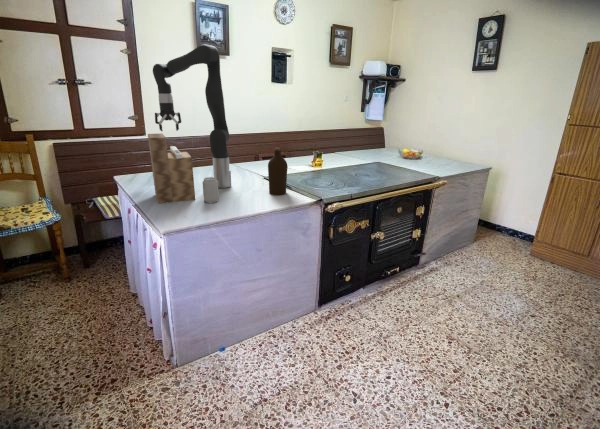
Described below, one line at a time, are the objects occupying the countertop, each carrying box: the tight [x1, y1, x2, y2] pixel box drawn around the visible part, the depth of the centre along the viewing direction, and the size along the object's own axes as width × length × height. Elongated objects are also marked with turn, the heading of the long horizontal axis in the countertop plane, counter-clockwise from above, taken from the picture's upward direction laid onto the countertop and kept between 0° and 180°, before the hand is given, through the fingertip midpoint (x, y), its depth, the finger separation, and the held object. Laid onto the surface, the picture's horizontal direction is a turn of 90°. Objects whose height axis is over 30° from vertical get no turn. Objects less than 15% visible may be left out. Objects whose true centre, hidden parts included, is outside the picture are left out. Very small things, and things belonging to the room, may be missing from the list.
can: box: [202, 176, 220, 204], centre depth 173 cm, size 8×8×12 cm
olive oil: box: [267, 147, 288, 196], centre depth 187 cm, size 11×11×25 cm
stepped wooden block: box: [147, 132, 196, 204], centre depth 175 cm, size 18×16×32 cm
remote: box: [169, 145, 182, 159], centre depth 177 cm, size 3×26×2 cm, turn 26°
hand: (169, 130), depth 202 cm, fingers open, 8 cm apart
